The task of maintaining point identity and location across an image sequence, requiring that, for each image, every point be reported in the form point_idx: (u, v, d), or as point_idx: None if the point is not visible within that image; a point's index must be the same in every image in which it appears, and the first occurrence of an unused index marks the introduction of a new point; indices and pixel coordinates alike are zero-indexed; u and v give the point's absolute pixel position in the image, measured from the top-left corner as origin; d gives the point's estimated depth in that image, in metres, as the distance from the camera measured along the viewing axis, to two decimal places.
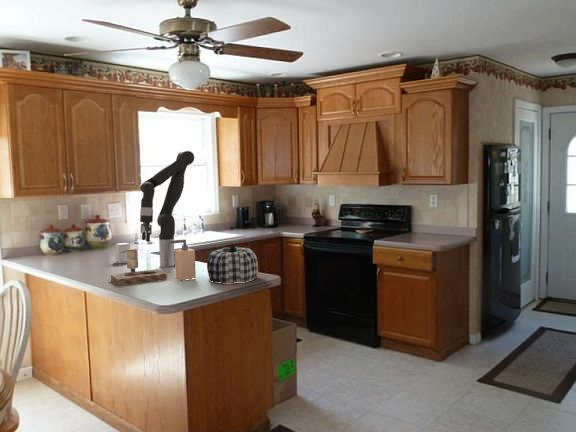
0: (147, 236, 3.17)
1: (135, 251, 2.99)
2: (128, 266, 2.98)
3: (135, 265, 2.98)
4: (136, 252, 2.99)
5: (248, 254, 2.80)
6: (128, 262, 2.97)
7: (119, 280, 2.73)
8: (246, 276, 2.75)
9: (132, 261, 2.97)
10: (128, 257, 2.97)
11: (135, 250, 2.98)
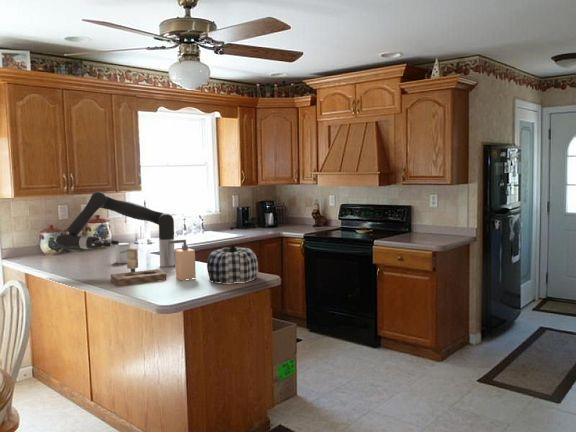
0: (104, 245, 2.96)
1: (135, 251, 2.99)
2: (128, 266, 2.98)
3: (135, 265, 2.98)
4: (136, 252, 2.99)
5: (248, 254, 2.80)
6: (128, 262, 2.97)
7: (119, 280, 2.73)
8: (246, 276, 2.75)
9: (132, 261, 2.97)
10: (128, 257, 2.97)
11: (135, 250, 2.98)
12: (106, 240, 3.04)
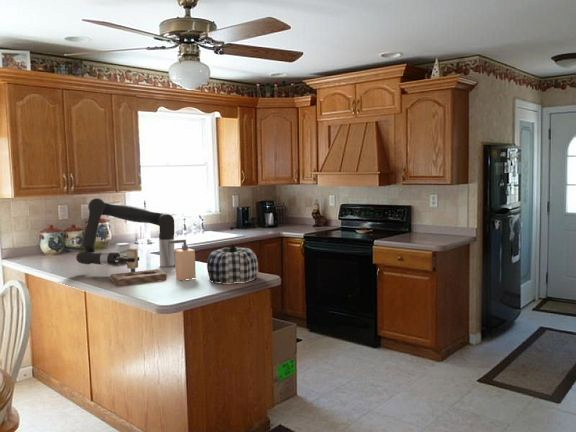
0: (128, 261, 2.96)
1: (135, 251, 2.99)
2: (128, 266, 2.98)
3: (135, 265, 2.98)
4: (136, 252, 2.99)
5: (248, 254, 2.80)
6: (128, 262, 2.97)
7: (119, 280, 2.73)
8: (246, 276, 2.75)
9: None
10: (128, 257, 2.97)
11: (135, 250, 2.98)
12: (126, 256, 3.01)
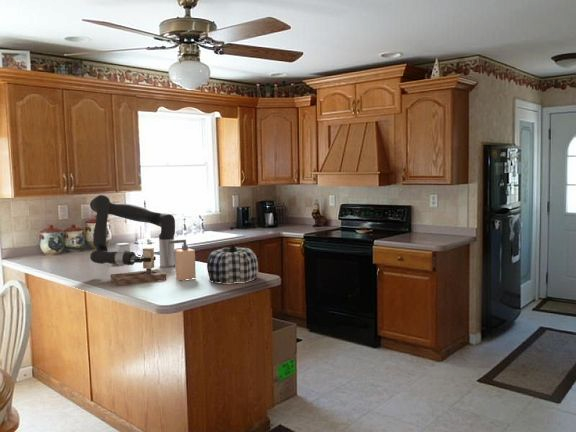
0: None
1: (152, 250, 2.88)
2: (144, 266, 2.87)
3: (151, 264, 2.88)
4: (152, 251, 2.89)
5: (248, 254, 2.80)
6: (144, 262, 2.87)
7: (119, 280, 2.73)
8: (246, 276, 2.75)
9: None
10: (144, 256, 2.87)
11: (151, 249, 2.88)
12: (142, 255, 2.91)
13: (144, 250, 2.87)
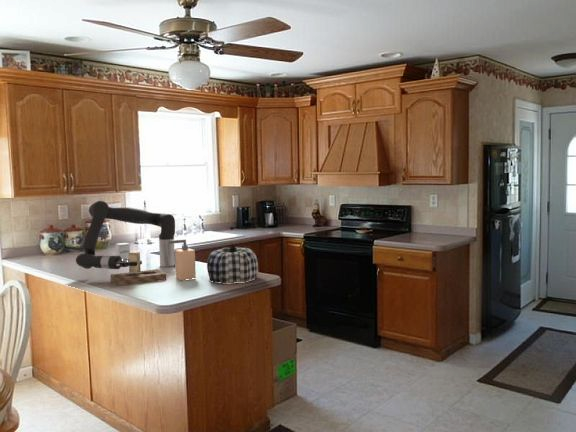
0: (130, 265, 2.82)
1: (138, 254, 2.84)
2: (130, 270, 2.83)
3: (137, 269, 2.84)
4: (138, 255, 2.85)
5: (248, 254, 2.80)
6: (130, 266, 2.83)
7: (119, 280, 2.73)
8: (246, 276, 2.75)
9: None
10: (130, 261, 2.83)
11: (137, 253, 2.84)
12: (128, 260, 2.87)
13: (130, 254, 2.83)
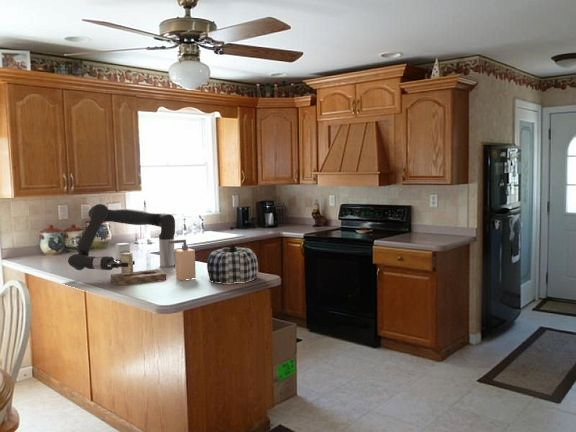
0: None
1: (130, 256, 2.82)
2: (122, 272, 2.81)
3: (130, 270, 2.82)
4: (131, 257, 2.83)
5: (248, 254, 2.80)
6: (122, 267, 2.81)
7: (119, 280, 2.73)
8: (246, 276, 2.75)
9: None
10: (122, 262, 2.81)
11: (130, 255, 2.82)
12: None
13: (122, 255, 2.80)
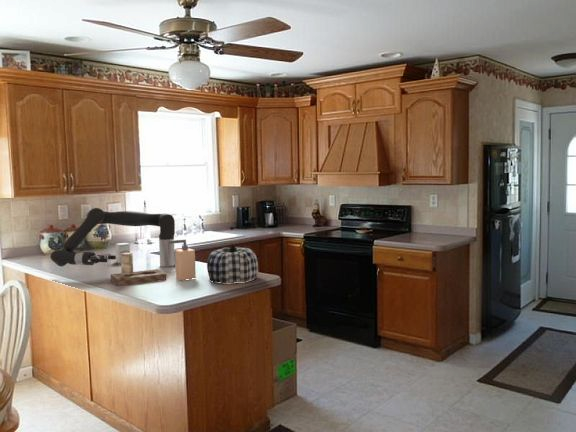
0: (100, 261, 2.83)
1: (130, 256, 2.82)
2: (122, 272, 2.81)
3: (130, 270, 2.82)
4: (131, 257, 2.83)
5: (248, 254, 2.80)
6: (122, 267, 2.81)
7: (119, 280, 2.73)
8: (246, 276, 2.75)
9: (127, 266, 2.80)
10: (122, 262, 2.81)
11: (130, 255, 2.82)
12: (103, 255, 2.92)
13: (122, 255, 2.80)
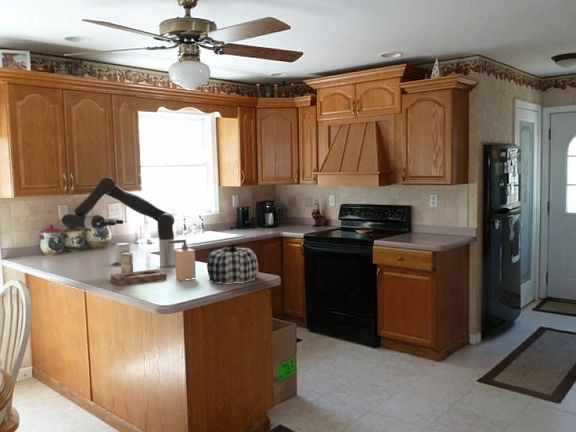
0: (109, 224, 3.02)
1: (130, 256, 2.82)
2: (122, 272, 2.81)
3: (130, 270, 2.82)
4: (131, 257, 2.83)
5: (248, 254, 2.80)
6: (122, 267, 2.81)
7: (119, 280, 2.73)
8: (246, 276, 2.75)
9: (127, 266, 2.80)
10: (122, 262, 2.81)
11: (130, 255, 2.82)
12: (111, 220, 3.10)
13: (122, 255, 2.80)
